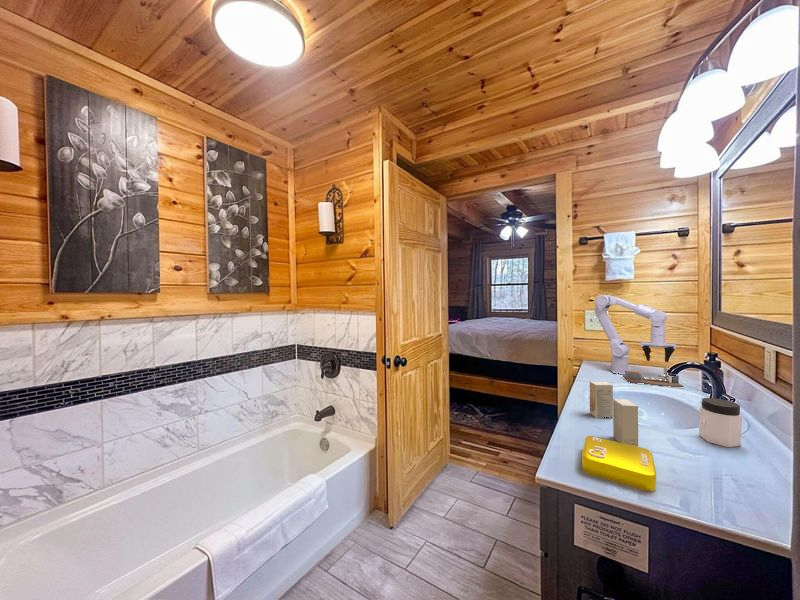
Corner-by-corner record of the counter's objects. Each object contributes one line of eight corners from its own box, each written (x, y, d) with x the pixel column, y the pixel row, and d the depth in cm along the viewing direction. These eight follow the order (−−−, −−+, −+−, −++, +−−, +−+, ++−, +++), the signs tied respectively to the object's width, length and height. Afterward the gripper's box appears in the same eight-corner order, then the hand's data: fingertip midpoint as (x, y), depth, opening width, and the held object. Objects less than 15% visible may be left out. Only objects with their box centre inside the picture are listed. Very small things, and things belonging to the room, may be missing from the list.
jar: (694, 432, 101) (695, 395, 100) (726, 436, 98) (728, 398, 97) (710, 445, 92) (712, 405, 92) (746, 450, 89) (748, 409, 89)
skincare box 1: (606, 413, 116) (607, 381, 115) (613, 418, 111) (614, 384, 111) (588, 413, 116) (589, 380, 116) (594, 417, 112) (595, 384, 111)
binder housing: (625, 376, 160) (625, 369, 160) (637, 377, 158) (637, 370, 158) (628, 379, 155) (628, 372, 155) (640, 380, 153) (641, 373, 153)
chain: (641, 377, 158) (641, 366, 158) (666, 379, 154) (666, 367, 154) (645, 380, 152) (646, 369, 152) (671, 383, 149) (672, 371, 148)
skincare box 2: (638, 447, 91) (639, 406, 91) (621, 445, 92) (622, 405, 92) (627, 437, 97) (628, 399, 97) (611, 435, 98) (612, 398, 98)
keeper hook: (656, 379, 155) (656, 371, 155) (674, 381, 152) (674, 372, 152) (660, 382, 151) (660, 373, 151) (678, 383, 148) (678, 375, 148)
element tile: (656, 495, 70) (657, 475, 70) (580, 473, 79) (581, 454, 79) (651, 465, 83) (651, 447, 83) (585, 448, 91) (586, 432, 91)
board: (622, 376, 163) (622, 375, 163) (672, 381, 156) (672, 379, 156) (629, 383, 152) (629, 381, 152) (683, 388, 145) (683, 386, 145)
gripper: (643, 335, 157) (642, 361, 157) (679, 336, 152) (678, 364, 152) (638, 333, 164) (638, 358, 164) (673, 334, 158) (672, 361, 159)
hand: (657, 361), depth 159 cm, fingers open, 7 cm apart
